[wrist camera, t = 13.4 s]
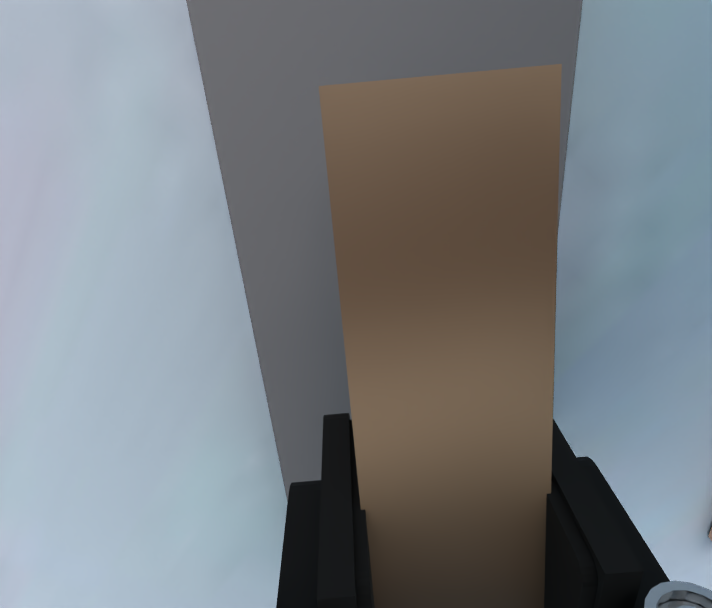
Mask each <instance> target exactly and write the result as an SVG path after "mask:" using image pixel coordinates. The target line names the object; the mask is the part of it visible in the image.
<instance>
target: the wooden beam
mask: <svg viewBox="0 0 712 608" xmlns="http://www.w3.org/2000/svg"><path fill="white" fill-rule="evenodd" d="M561 72H562V64H554V65H543V66H532V67H521V68H510V69H499V70H489V71H478V72H467V73H456V74H445V75H434V76H423V77H412V78H401V79H390V80H379V81H368V82H357V83H346V84H335V85H324V86H319V95H320V106H321V116H322V126H323V136H324V146H325V156H326V166H327V176H328V186H329V196H330V206H331V216H332V226H333V236H334V246H335V256H336V266H337V276H338V286H339V296H340V306H341V316H342V326H343V336H344V346H345V356H346V366H347V376H348V386H349V396H350V406H351V416H352V426H353V436H354V446H355V456H356V466H357V476H358V486H359V497H360V507H361V510H365V512H366V522H367V533H368V543H369V553H370V564H371V574H372V584H373V595H374V605H375V608H544V588H545V543H546V498H547V494H549V493H551V472H552V432H553V392H554V352H555V312H556V272H557V232H558V192H559V152H560V112H561Z"/></svg>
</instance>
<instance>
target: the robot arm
mask: <svg viewBox="0 0 712 608" xmlns="http://www.w3.org/2000/svg"><path fill="white" fill-rule="evenodd" d="M276 608H375V605H374V595H373V584H372V574H371V564H370V553H369V543H368V533H367V522H366V512H365V510H361V507H360V497H359V486H358V476H357V466H356V456H355V446H354V436H353V426H352V419H351V420H350V416H349V413H340V414H329V415H324V416H323V439H322V468H321V480H315V481H304V482H292V483H291V484H290V488H289V496H288V505H287V514H286V523H285V533H284V542H283V551H282V560H281V570H280V579H279V588H278V598H277V607H276ZM544 608H712V591H711V590H709V589H707V588H704V587H701V586H698V585H696V584H693V583H688V582H681V581H669V579H668V577H667V576H666V574H665V573H664V571H663V570H662V568H661V566H660V565H659V563H658V562H657V560H656V559H655V557H654V555H653V554H652V552H651V551H650V549H649V548H648V546H647V544H646V543H645V541H644V540H643V538H642V536H641V535H640V533H639V532H638V530H637V529H636V527H635V525H634V524H633V522H632V521H631V519H630V518H629V516H628V514H627V513H626V511H625V510H624V508H623V506H622V505H621V503H620V502H619V500H618V499H617V497H616V495H615V494H614V492H613V491H612V489H611V488H610V486H609V484H608V483H607V481H606V480H605V478H604V477H603V475H602V473H601V472H600V470H599V469H598V467H597V466H596V464H595V463H594V462H593V460H592V459H590V458H589V457H577V458H576V456H575V455H574V453H573V451H572V450H571V448H570V446H569V444H568V443H567V441H566V439H565V438H564V436H563V434H562V433H561V431H560V429H559V428H558V426H557V424H556V423H555V421H554V419H553V432H552V472H551V493H549V494H547V498H546V543H545V588H544Z"/></svg>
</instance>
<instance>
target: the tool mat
mask: <svg viewBox="0 0 712 608" xmlns="http://www.w3.org/2000/svg"><path fill="white" fill-rule="evenodd" d="M186 1H187V6H188V11H189V16H190V21H191V26H192V31H193V36H194V41H195V45H196V50H197V55H198V60H199V65H200V70H201V75H202V80H203V85H204V90H205V95H206V100H207V105H208V110H209V115H210V120H211V125H212V130H213V135H214V139H215V144H216V149H217V154H218V159H219V164H220V169H221V174H222V179H223V184H224V189H225V194H226V199H227V204H228V209H229V214H230V219H231V224H232V228H233V233H234V238H235V243H236V248H237V253H238V258H239V263H240V268H241V273H242V278H243V283H244V288H245V293H246V298H247V303H248V308H249V313H250V318H251V322H252V327H253V332H254V337H255V342H256V347H257V352H258V357H259V362H260V367H261V372H262V377H263V382H264V387H265V392H266V397H267V402H268V407H269V412H270V416H271V421H272V426H273V431H274V436H275V441H276V446H277V451H278V456H279V461H280V466H281V471H282V476H283V481H284V486H285V491H286V496H287V501H288V496H289V488H290V484H291V483H292V482H304V481H315V480H321V468H322V439H323V416H324V415H329V414H340V413H349V416H350V420H351V419H352V416H351V406H350V396H349V386H348V376H347V366H346V356H345V346H344V336H343V326H342V316H341V306H340V296H339V286H338V276H337V266H336V256H335V246H334V236H333V226H332V216H331V206H330V196H329V186H328V176H327V166H326V156H325V146H324V136H323V126H322V116H321V106H320V95H319V86H324V85H335V84H346V83H357V82H368V81H379V80H390V79H401V78H412V77H423V76H434V75H445V74H456V73H467V72H478V71H489V70H499V69H510V68H521V67H532V66H543V65H554V64H562V72H561V112H560V152H559V192H558V226H559V216H560V207H561V198H562V188H563V179H564V170H565V160H566V151H567V141H568V132H569V123H570V113H571V104H572V94H573V85H574V76H575V66H576V57H577V48H578V38H579V29H580V19H581V10H582V1H583V0H186ZM557 235H558V232H557Z"/></svg>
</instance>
